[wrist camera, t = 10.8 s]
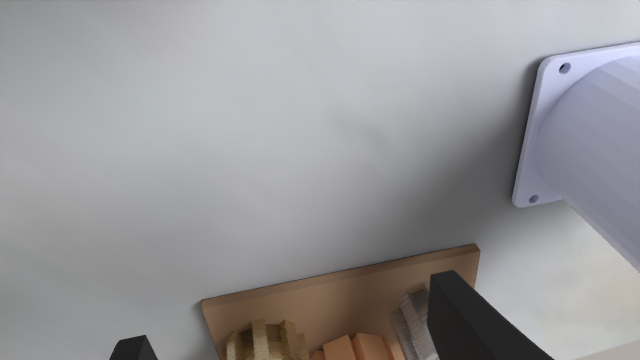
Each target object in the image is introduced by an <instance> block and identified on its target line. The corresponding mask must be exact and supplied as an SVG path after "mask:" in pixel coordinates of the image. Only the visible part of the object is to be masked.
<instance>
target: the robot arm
mask: <svg viewBox="0 0 640 360" xmlns="http://www.w3.org/2000/svg"><path fill="white" fill-rule="evenodd" d="M564 63H565V65H564V67H563V68H562V69H561V70H560V71H559V69H560V67H561V66H562V65H563V64H564ZM530 197H531V198H530ZM560 200H564V201H566V202H567V203H568V204H569V205H570V206H571V207H572V208H573V209H574V210H575V211H576V212H577V213H578V214H579V215H580V216H581V217H582V218H583V219H584V220H585V221H586V222H587V223H588V224H589V225H591V226H592V227H593V228H594V229H595V230H596V231H597V232H598V233H599V234H600V235H601V236H602V237H603V238H604V239H605V240H606V241H607V242H608V243H609V244H610V245H611V246H612V247H613V248H614V249H615V250H617V251H618V252H619V253H620V254H621V255H622V256H623V257H624V258H625V259H626V260H627V261H628V262H629V263H630V264H631V265H632V266H633V267H634V268H635V269H636V270H637V271H638V272H639V273H640V42H636V43H630V44H623V45H617V46H611V47H605V48H599V49H593V50H586V51H580V52H574V53H568V54H562V55H555V56H550V57H548V58H546V59H545V60H543V61H542V63H541V64H540V66H539V68H538V73H537V78H536V82H535V87H534V92H533V97H532V102H531V107H530V112H529V117H528V122H527V127H526V131H525V136H524V141H523V146H522V151H521V156H520V161H519V166H518V171H517V175H516V180H515V185H514V190H513V195H512V202H513V204H514V205H515V206H516V207H518V208H525V207H530V206H535V205H540V204H545V203H550V202H555V201H560ZM426 325H427V327H428V330H429V333H430V336H431V338H432V341H433V344H434V347H435V349H436V352H437V354H438V357H439V360H554V359H553V358H552V357H550V356H549V355H548V354H547V353H545V352H544V351H543V350H542V349H540V348H539V347H538V346H537V345H536V344H534V343H533V342H532V341H531V340H530V339H528V338H527V337H526V336H525V335H524V334H523V333H522V332H520V331H519V330H518V329H517V328H516V327H515V326H513V325H512V324H511V323H510V322H509V321H508V320H507V319H505V318H504V317H503V316H502V315H501V314H500V313H499V312H498V311H497V310H496V309H495V308H493V307H492V306H491V305H490V304H489V303H488V302H487V301H486V300H485V299H484V298H483V297H482V296H481V295H480V294H479V293H478V292H476V291H475V290H474V289H473V288H472V287H471V286H470V285H469V284H468V283H467V282H466V281H465V280H464V279H463V278H462V277H461V276H460V275H459V274H458V273H457V272H456V271H454V270H449V271H444V272H440V273H435V274H431V276H430V288H429V300H428V312H427V324H426ZM109 360H158V359H157V357H156V355H155V353H154V351H153V349H152V347H151V345H150V343H149V341H148V339H147V337H146V335H142V336H137V337H133V338H128V339H123V340H120V341H119V342H118V343H117V344H116V346H115V348H114V351H113V353H112V355H111V357H110V359H109Z"/></svg>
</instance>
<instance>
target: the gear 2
mask: <svg viewBox="0 0 640 360" xmlns="http://www.w3.org/2000/svg"><path fill="white" fill-rule="evenodd" d="M429 288H430V281H425V282H424V284H423V289H420V290H418V291H416V292H414V293H413V294H411V293H409V292H407V291H405V292H404V293H403V294H401V295H400V296H399V297H398V298H397V300H398V302H399V304H400V307H399V310H396V311H391V312H390V317H389V320H390V322H391V325H392V327H393V330H394V332H395V335H396V338H397V340H398V343H399V345H400V348H401V350H402V353H403V355H404V358H405V360H439V357H438V354H437V352H436V349H435V347H434V344H433V341H432V338H431V336H430V333H429V330H428V327H427V325H426V324H427V312H428V300H429Z"/></svg>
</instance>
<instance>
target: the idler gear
mask: <svg viewBox="0 0 640 360" xmlns="http://www.w3.org/2000/svg"><path fill="white" fill-rule="evenodd" d="M323 349H324V351H315V352H314V354H313V355H312V357H311V359H310V360H397V359H396V356H395V353H394V351H393V349H392V347H391V345H390V344H389V342H388V340H387V339H385V340H382V337H381V335H373V334H364V333H357V334H356V336H355V337H354V339H353V340H352V341H351V339H350V337H349V336H348V334H347V335H345V336H343V337H340V338H338V339H335V340H333V341H331V342H328V343H326V344H324V345H323Z"/></svg>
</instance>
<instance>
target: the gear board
mask: <svg viewBox="0 0 640 360" xmlns="http://www.w3.org/2000/svg"><path fill="white" fill-rule="evenodd" d="M479 257H480V250H479V248H478V247H477V245H476V244H471V245H466V246H462V247H457V248H452V249H447V250H442V251H437V252H432V253H428V254H423V255H418V256H413V257H408V258H403V259H398V260H394V261H389V262H384V263H379V264H374V265H369V266H365V267H360V268H355V269H350V270H345V271H340V272H335V273H331V274H326V275H321V276H316V277H311V278H306V279H302V280H297V281H292V282H287V283H282V284H277V285H272V286H268V287H263V288H258V289H253V290H248V291H243V292H239V293H234V294H229V295H224V296H219V297H214V298H209V299H205V300H202V312H203V314H204V317H205V320H206V323H207V325H208V328H209V331H210V334H211V337H212V339H213V342H214V345H215V348H216V351H217V353H218V356H219V359H220V360H223V353H222V351H224V350H227V339H226V338H227V337H228V336H229V335H230V334H231V332H232V331H233V330H235V331H238V332H241V333H243V332H244V331H246V330H248V329H250V328H252V321H254V320H258V319H263V318H265V322H266V324H275V325H279V324H280V323H281V322H282V321H283V320H284V319H286V320H288V321H291V322H294V323H295V327H296V333H297V334H301V333H304V334H305V339H306V344H307V349H308V354H309V359H311V357H312V355H313V354H314V352H315V351H324V349H323V345H324V344H326V343H328V342H331V341H333V340H335V339H338V338H340V337H343V336H345V335H347V334H348V336H349V337H350V339H351V341H352V340H353V339H354V337H355V336H356V334H357V333H364V334H373V335H381V337H382V340H385V339H387V340H388V342H389V344H390V345H391V347H392V349H393V351H394V353H395V356H396V359H397V360H405V358H404V355H403V353H402V350H401V348H400V345H399V343H398V340H397V338H396V335H395V332H394V330H393V327H392V325H391V322H390V320H389V317H390V312H391V311H396V310H399V307H400V304H399V302H398V300H397V298H398V297H399V296H400V295H401V294H403V293H404V292H405V291H407V292H409V293H411V294H413V293H414V292H416V291H418V290H420V289H423V284H424V282H425V281H430V276H431V274H435V273H440V272H444V271H449V270H454V271H456V272H457V273H458V274H459V275H460V276H461V277H462V278H463V279H464V280H465V281H466V282H467V283H468V284H469V285H470V286H471V287H472V288H473V289H474V287H475V281H476V275H477V269H478V263H479Z"/></svg>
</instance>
